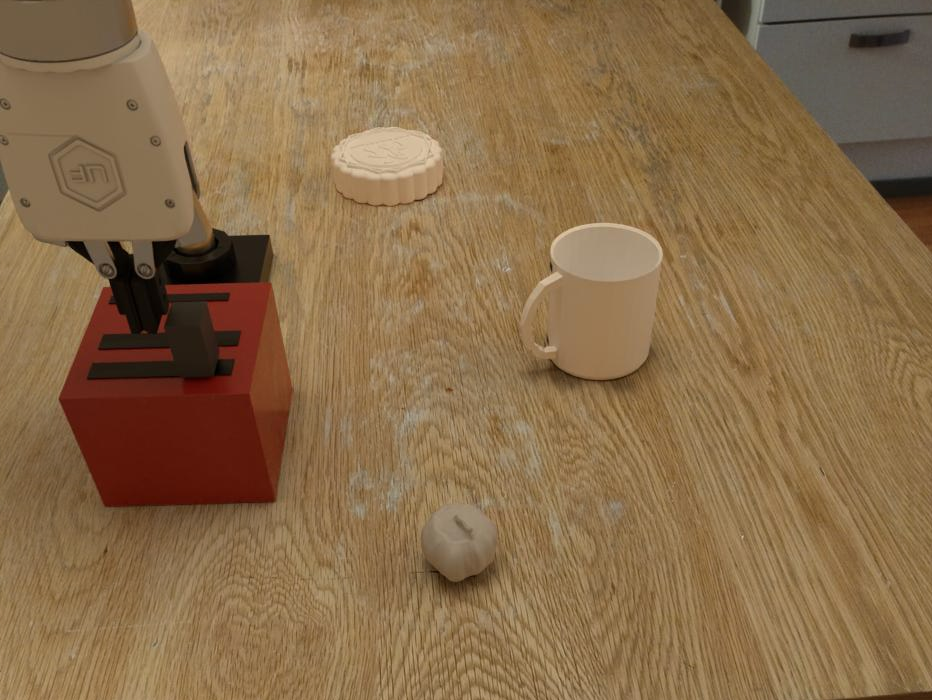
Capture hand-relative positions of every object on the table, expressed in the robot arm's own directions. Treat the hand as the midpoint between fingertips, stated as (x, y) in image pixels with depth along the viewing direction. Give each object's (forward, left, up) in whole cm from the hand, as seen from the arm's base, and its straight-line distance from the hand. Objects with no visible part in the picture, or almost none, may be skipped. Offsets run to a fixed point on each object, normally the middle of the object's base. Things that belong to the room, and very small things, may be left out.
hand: (148, 321), depth 65 cm
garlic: (+20, -10, -14) cm, 27 cm away
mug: (+31, +15, -14) cm, 37 cm away
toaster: (0, +4, -14) cm, 14 cm away
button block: (-4, +28, -14) cm, 31 cm away
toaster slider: (+3, 0, -3) cm, 4 cm away
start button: (-4, +28, -10) cm, 30 cm away
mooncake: (+13, +48, -14) cm, 51 cm away
